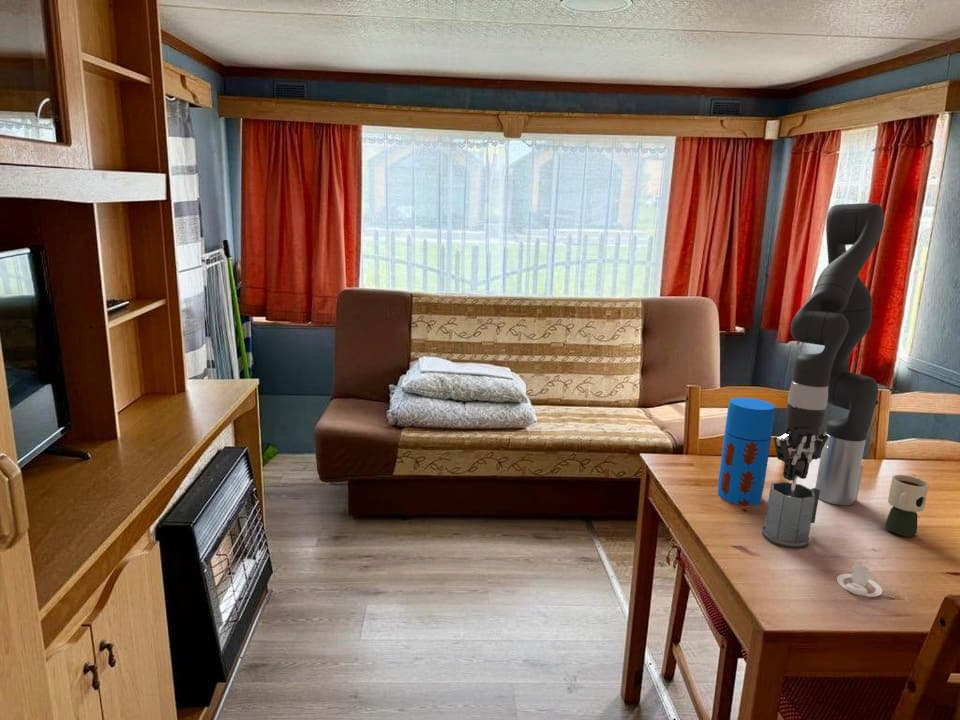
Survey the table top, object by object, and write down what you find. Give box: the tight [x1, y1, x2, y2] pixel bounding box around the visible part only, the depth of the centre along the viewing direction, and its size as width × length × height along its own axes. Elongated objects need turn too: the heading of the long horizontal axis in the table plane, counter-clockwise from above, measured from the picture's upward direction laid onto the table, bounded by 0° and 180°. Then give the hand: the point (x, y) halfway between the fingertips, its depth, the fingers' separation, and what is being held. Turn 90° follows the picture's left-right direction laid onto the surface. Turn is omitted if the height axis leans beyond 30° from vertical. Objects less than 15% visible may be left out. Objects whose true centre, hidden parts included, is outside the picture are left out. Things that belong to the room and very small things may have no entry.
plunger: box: [790, 456, 805, 497], centre depth 146 cm, size 7×7×14 cm
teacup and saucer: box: [836, 563, 883, 598], centre depth 130 cm, size 9×8×4 cm
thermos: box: [717, 397, 776, 507], centre depth 167 cm, size 11×11×25 cm
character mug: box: [884, 474, 930, 538], centre depth 152 cm, size 11×7×13 cm, turn 136°
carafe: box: [761, 481, 820, 550], centre depth 148 cm, size 12×10×12 cm
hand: (794, 478), depth 145 cm, fingers closed on plunger, 3 cm apart
